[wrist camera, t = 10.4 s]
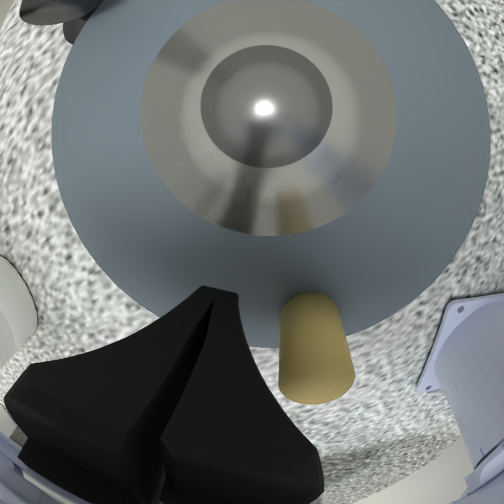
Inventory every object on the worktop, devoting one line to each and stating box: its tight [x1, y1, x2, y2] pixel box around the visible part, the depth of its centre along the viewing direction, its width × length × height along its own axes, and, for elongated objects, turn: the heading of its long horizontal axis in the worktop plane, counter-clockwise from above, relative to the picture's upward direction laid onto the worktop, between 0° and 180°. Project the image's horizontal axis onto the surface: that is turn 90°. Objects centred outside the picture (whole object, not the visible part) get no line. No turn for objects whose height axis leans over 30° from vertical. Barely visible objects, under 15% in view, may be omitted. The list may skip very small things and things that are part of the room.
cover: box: [141, 0, 397, 236], centre depth 7 cm, size 6×6×3 cm
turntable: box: [52, 0, 490, 404], centre depth 8 cm, size 18×18×5 cm
